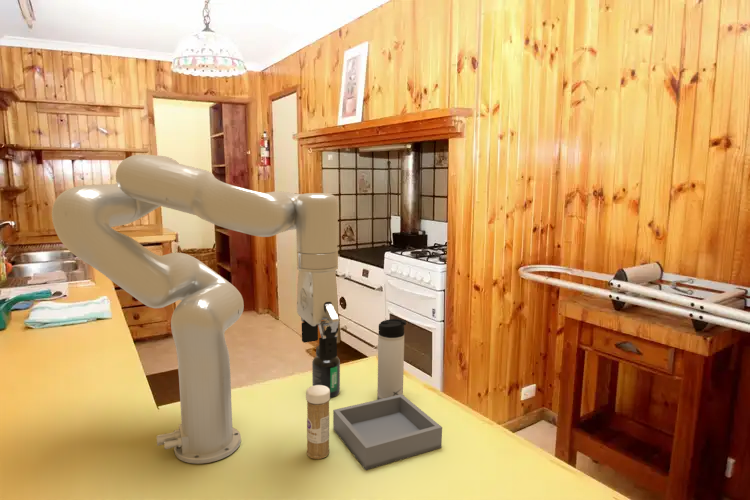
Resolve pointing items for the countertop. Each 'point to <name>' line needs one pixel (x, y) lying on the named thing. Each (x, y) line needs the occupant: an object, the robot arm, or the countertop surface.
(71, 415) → the countertop surface
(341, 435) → the tray
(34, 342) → the countertop surface
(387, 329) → the travel mug
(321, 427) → the sprinkles bottle
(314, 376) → the supplement bottle
